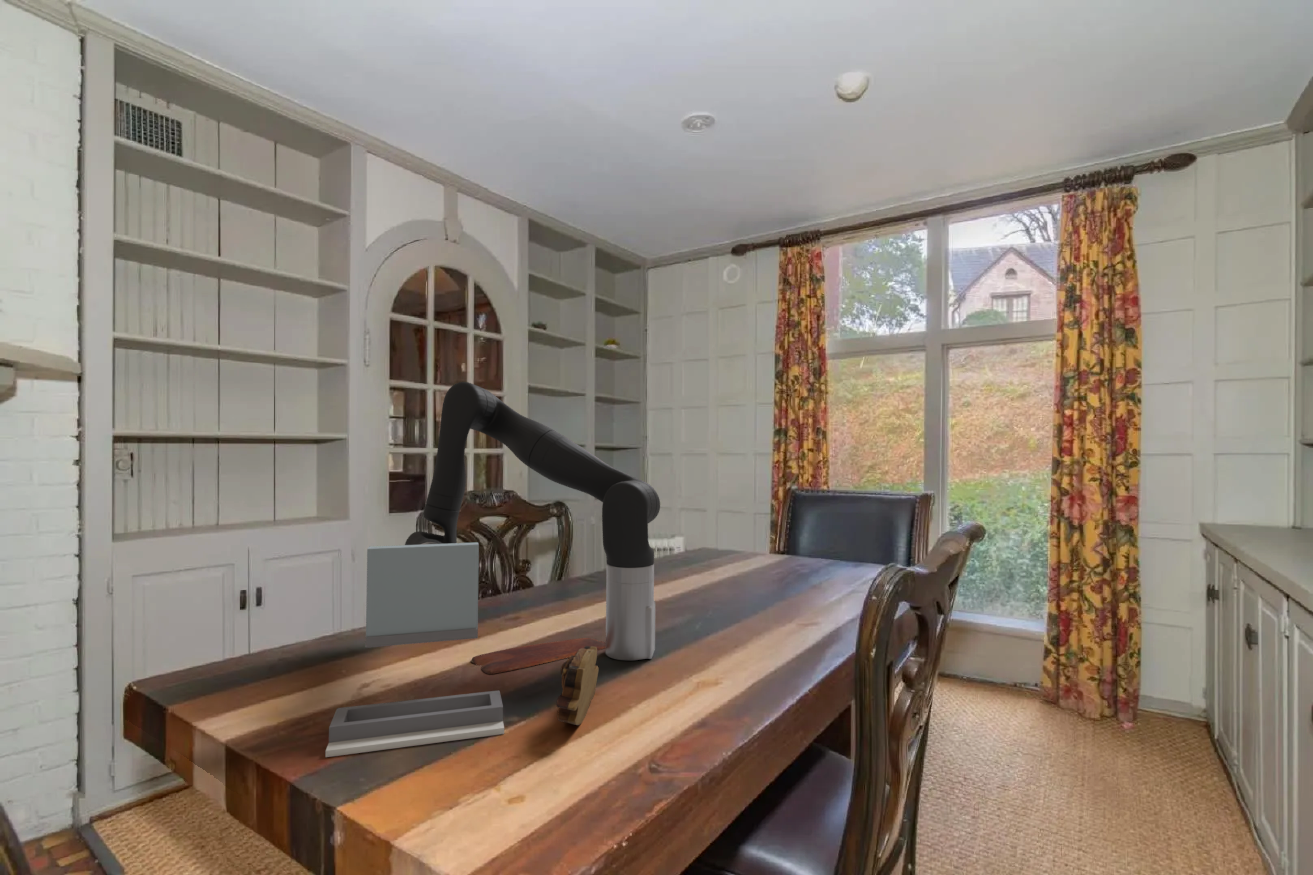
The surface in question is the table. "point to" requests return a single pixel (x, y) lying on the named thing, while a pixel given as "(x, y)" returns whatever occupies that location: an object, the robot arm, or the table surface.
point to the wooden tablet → (532, 655)
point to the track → (415, 722)
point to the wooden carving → (577, 685)
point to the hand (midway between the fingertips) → (424, 583)
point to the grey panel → (421, 593)
